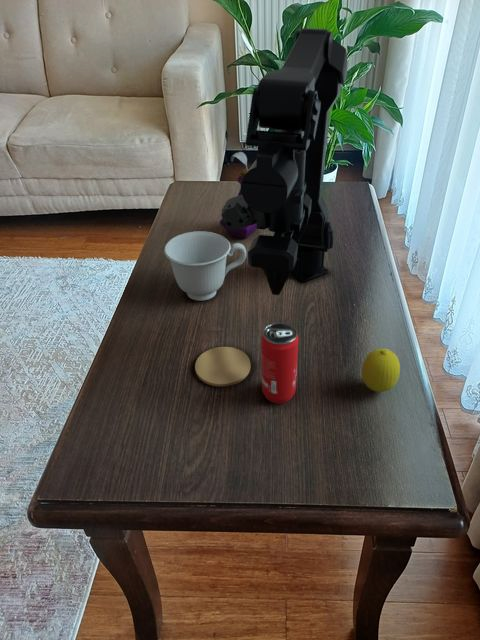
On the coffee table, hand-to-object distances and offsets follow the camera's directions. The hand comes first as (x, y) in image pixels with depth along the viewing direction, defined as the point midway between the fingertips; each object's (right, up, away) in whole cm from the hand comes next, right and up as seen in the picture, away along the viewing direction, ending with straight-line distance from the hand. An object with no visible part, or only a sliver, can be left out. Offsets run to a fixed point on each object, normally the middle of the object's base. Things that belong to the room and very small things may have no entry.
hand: (281, 277), depth 81 cm
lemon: (+15, -17, 0) cm, 23 cm away
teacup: (-13, 0, +20) cm, 24 cm away
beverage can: (0, -18, -1) cm, 18 cm away
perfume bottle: (-7, +15, +38) cm, 42 cm away
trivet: (-9, -14, +4) cm, 17 cm away
